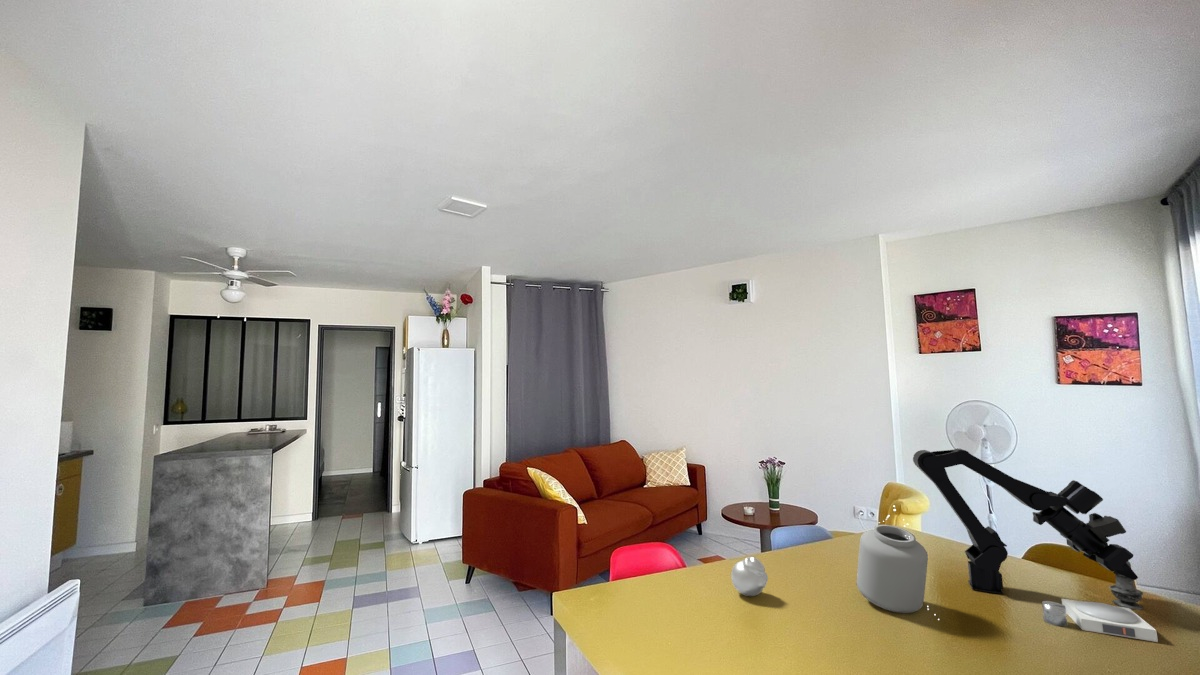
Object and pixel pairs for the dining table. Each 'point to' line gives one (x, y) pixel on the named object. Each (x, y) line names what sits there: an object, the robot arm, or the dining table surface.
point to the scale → (1109, 620)
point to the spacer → (1054, 613)
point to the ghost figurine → (749, 576)
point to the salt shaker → (1126, 592)
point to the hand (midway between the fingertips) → (1131, 575)
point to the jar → (892, 569)
